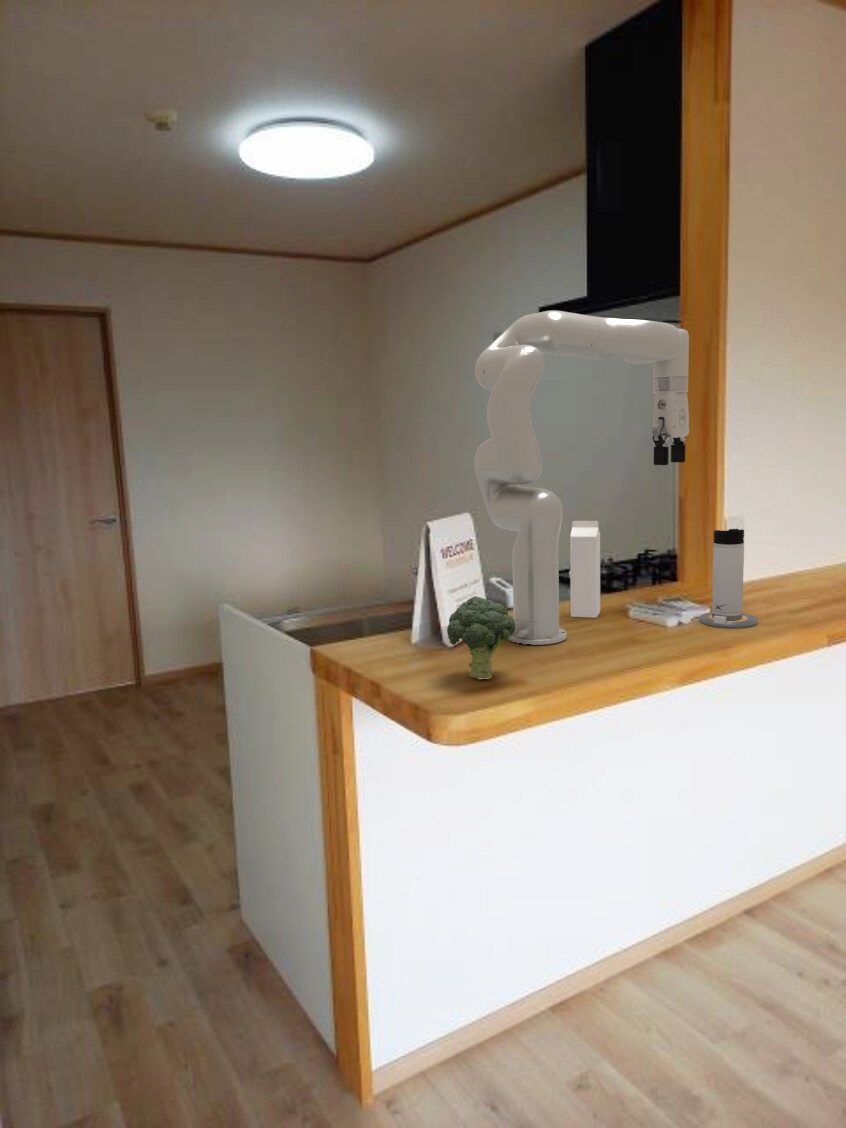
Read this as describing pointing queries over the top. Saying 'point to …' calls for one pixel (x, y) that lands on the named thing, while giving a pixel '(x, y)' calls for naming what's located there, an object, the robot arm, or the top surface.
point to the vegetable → (480, 631)
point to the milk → (585, 569)
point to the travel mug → (728, 574)
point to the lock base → (722, 623)
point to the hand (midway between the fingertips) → (669, 463)
